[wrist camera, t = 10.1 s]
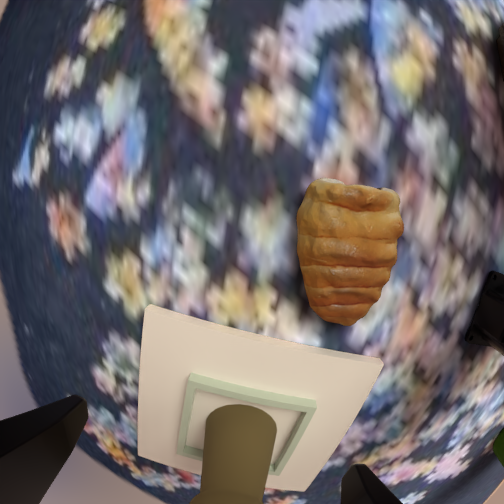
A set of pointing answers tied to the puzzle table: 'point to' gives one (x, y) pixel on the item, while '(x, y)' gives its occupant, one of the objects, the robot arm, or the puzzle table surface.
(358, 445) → the puzzle table surface
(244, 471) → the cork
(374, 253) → the pastry
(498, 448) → the wine bottle
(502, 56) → the dark grey round container
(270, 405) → the cream flat square slab
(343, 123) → the puzzle table surface
